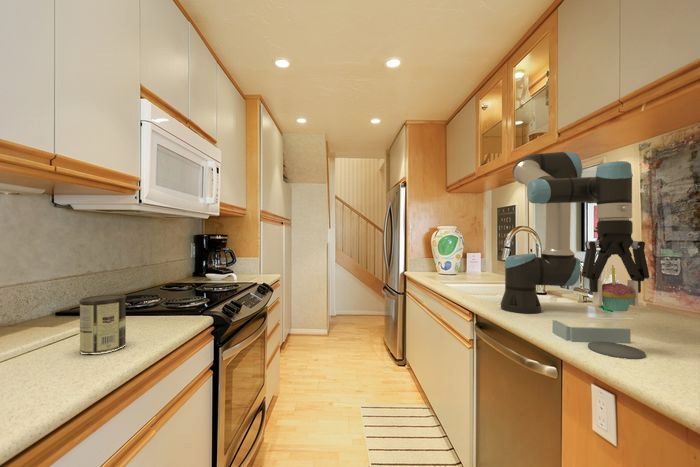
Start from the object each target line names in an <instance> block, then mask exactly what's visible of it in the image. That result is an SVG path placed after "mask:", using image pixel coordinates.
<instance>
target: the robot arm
mask: <svg viewBox="0 0 700 467" xmlns="http://www.w3.org/2000/svg"><path fill="white" fill-rule="evenodd" d="M632 172H633V170H632V164H631V162H629V161H627V160H626V161H623V160H622V161H619V160H618V161H607V162H605V163H604V162H603V163H601V164H599V165H597V167H596V172H595V176H587V177H586V176H585V177H583V176H582V174H583V163H582V160H581V158H580V156H579V155H578V154H577V153H576V152H574V151H559V152H558V151H557V152H544V153H543V152H542V153H531V154H528V155H525V156H523V157H521V158H520V159H518V161H517V162H515V164H514V165H513V168H512V176H513V178H514V179H515V181H516V182H517V183H518V184H522V185H524V186H525V187H526V189H527V190H526V191H527V192H526V193H527V195H526V196H527V198H528V201H529V203H530V204H540V205H544V204H545V244H544V245H545V249H543V250H542V251H540V253H541V254H540V256H537V255H536V253H523V254H521V253H520V254H514V255H508V256H507V257H505V260H504V293H503V296H502V299H501V301H500V309H502V310H504V311H506V312H513V313H518V314H539V313H541V312H542V305H541V303H540V300H539V297H538V294H537V286H552V287H573V286H574V285H576V284H577V282H578V281H579V278H580V275H581V276H582V278H586V279H588V280H589V291H590V292H592V304H594V305H597V306H603V302H602V285H603V280H600V277H601V275H602V273H603V271H604V268H605V267H606V265H607V262H608V260H609V258H611V257H612V255H613V256H614V255H617V256H618V257H619V258H620V259H621V261H622V263H623V266H624V268H625V270H626V272H627V274H628V276H629V278H630V279H627V280H626V282H627V284H626V286H628V287H631V288H632V289H633V290H635V292H636V298H634V299H633V300H632V302H631V303H630V305H631V306H635V307H639V294H640V293H641V292H642V287H641V286H642V282H644V281H645V280H647V279H649V278H650V272H649V267H648V263H647V259H646V258H647V257H646V253H645V248H646V247H645V246H646V242H645V241H643V240H642V241H641V240H640V241H637V240H633V238H632V234H633V229H634V228H633V221H632V220H630V219H632V218H633V176H634V175H633V173H632ZM573 203H575V204H576V203H578V204H579V203H585V204H586V203H587V204H596V219H597V220H599V221H597V222H596V233H597V238H596V240H593V241H591V240H587V241H586V240H585V242H584V244H585V255H584V260H583V265H581V261H580V259H579V258H578V257H575V252H574V251H572V250H571V214H572V213H571V212H572V211H571V210H572V209H571V208H572V206H571V204H573ZM598 247H599V251H598V252H597V249H598ZM630 248H631V249H632V252H631V250H630ZM596 255H597V258H596ZM632 256H633V257H632ZM581 266H582V270H581ZM630 305H629V306H630Z"/></svg>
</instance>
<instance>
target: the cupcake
mask: <svg viewBox="0 0 700 467" xmlns="http://www.w3.org/2000/svg"><path fill="white" fill-rule="evenodd" d="M615 269H616V268H615V267H614V265H613V264H612V267H611V282H609V283H602V305H603V307H604V309H605V310H608V311H612V312H627V311H628V310H629V307H630V303H631V302H632V300H633V299H634V298H636V292H635V290H633V289H632V288H631V287H628V286H627V284H624V283H623V284H622V283H616V272H615V271H616V270H615Z"/></svg>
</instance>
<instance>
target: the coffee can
mask: <svg viewBox="0 0 700 467" xmlns="http://www.w3.org/2000/svg"><path fill="white" fill-rule="evenodd" d="M126 300H127V294H126V295H125V294H120V293H119V294H118V293H117V294H116V293H115V294H114V293H113V294H111V293H110V294H100V295H93V296H86V297H83V298H80V299H79V353H80V352H82V353H88V354H91V353H101V352H107V351H112V350H115V349H118V348H120V347H123V346H124V345H125V344H126V340H127V339H126V331H127V330H126V329H127V328H126V327H127V326H126V325H127V324H126V322H127V321H126V316H127V315H126V312H127V311H126V309H127V308H126V307H127V306H126V302H127V301H126ZM126 345H127V344H126Z"/></svg>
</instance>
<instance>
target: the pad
mask: <svg viewBox="0 0 700 467" xmlns="http://www.w3.org/2000/svg"><path fill="white" fill-rule="evenodd" d="M587 349H589V350H590V351H592V352H594V353H597V354H600V355H604V356H607V355H608V357H612V358H617V357H619V358H618V359H624V358H626V359H625V360H641V359H644V358H646V352H645V351H644V350H641V349H640V348H636V347H633V346H630V345H626V344H624V343H610V342H588V343H587Z"/></svg>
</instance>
